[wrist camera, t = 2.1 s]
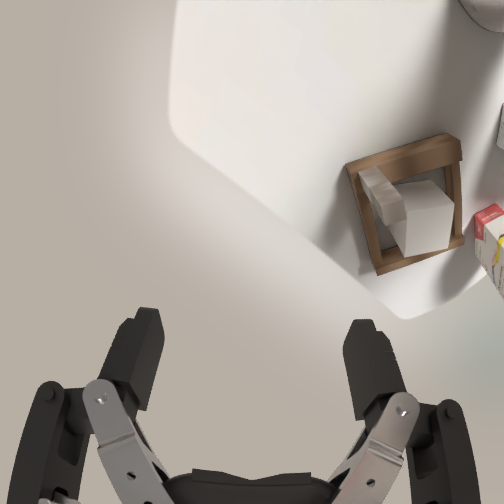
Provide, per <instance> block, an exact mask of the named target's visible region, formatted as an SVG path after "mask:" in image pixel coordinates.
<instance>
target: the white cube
mask: <svg viewBox="0 0 504 504" xmlns="http://www.w3.org/2000/svg"><path fill="white" fill-rule="evenodd" d="M393 187H394V188H395V189H396V190H397V191H398V193H399V194H400V195H401V197H402V198H403V200H404V206H405V212H406V220H403V221H400V222H397V223H394V224H391V225H389V230H390V232H391V234H392V235H393V237H394V239H395V241H396V243H397V244H398V246H399V248H400V250H401V252H402V254H403V256H404V258H405V257H410V256H414V255H419V254H424V253H429V252H433V251H438V250H443V249H447V248H448V245H449V239H450V233H451V227H452V220H453V213H454V203H453V201H452V200H451V199H450V198H449V197H448V196H447V195H446V194H445V193H444V192H443V191H442V190H441V189H440V188H439V187H438V186H437V185H436V184H435V183H434V182H433V181H432V180H426V181H419V182H411V183H404V184H398V185H393Z"/></svg>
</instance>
